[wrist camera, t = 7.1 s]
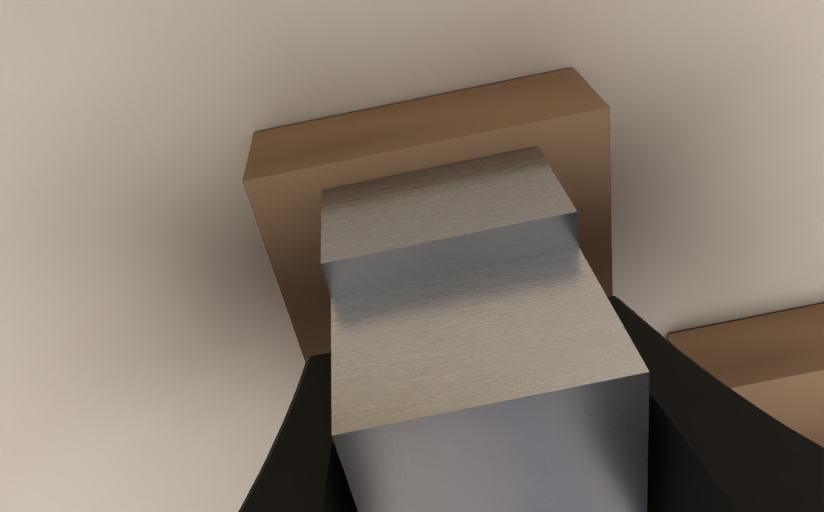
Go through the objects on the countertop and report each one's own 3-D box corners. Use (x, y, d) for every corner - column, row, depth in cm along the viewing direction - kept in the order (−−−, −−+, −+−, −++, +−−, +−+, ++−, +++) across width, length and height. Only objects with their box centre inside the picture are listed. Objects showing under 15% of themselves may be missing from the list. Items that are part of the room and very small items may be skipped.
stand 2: (862, 474, 20) (910, 534, 19) (661, 514, 21) (690, 577, 19) (916, 284, 17) (982, 338, 15) (668, 333, 17) (705, 392, 15)
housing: (558, 403, 15) (645, 628, 11) (391, 437, 15) (414, 673, 11) (536, 145, 11) (649, 330, 7) (321, 190, 11) (318, 397, 7)
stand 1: (585, 350, 17) (614, 411, 15) (339, 399, 17) (341, 465, 15) (572, 67, 13) (608, 107, 11) (254, 132, 13) (242, 180, 11)
